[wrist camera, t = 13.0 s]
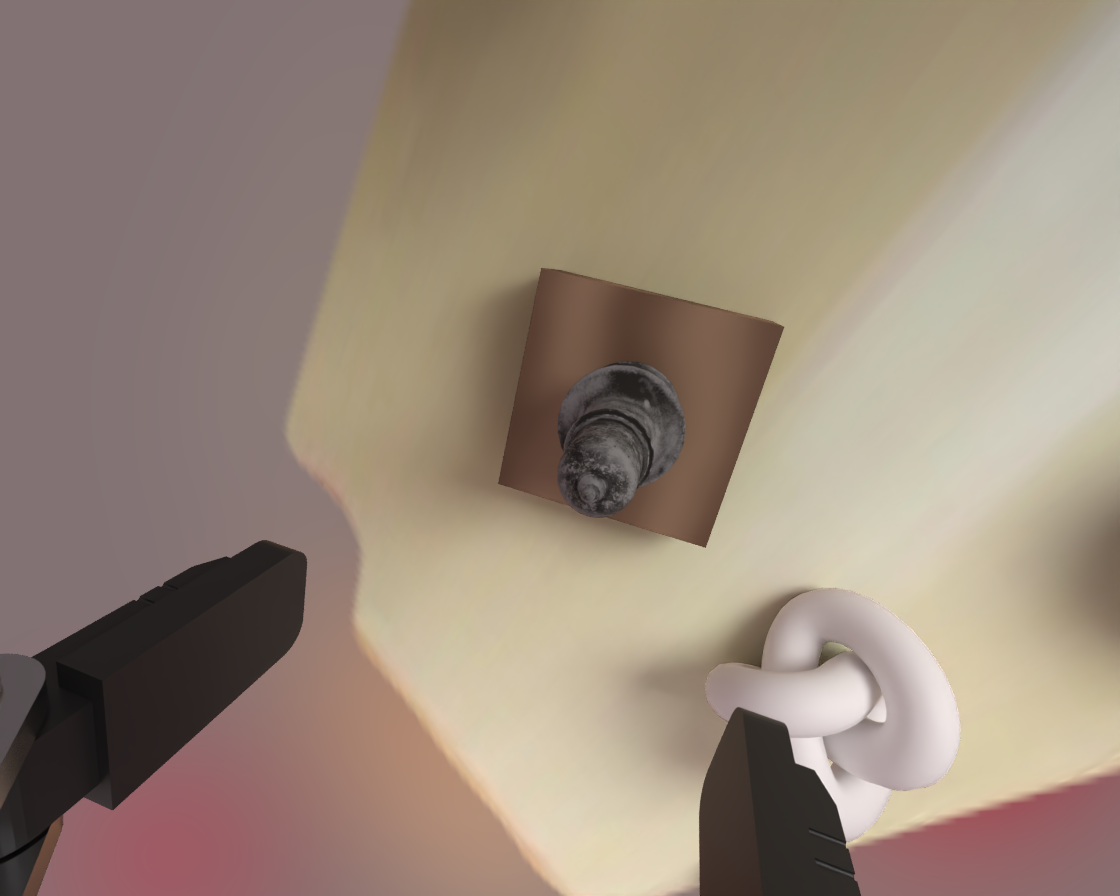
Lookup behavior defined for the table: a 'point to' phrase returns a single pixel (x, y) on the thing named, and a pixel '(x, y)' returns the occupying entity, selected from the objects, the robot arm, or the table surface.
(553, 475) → the walnut base
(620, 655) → the table surface
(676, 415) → the salt shaker
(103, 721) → the robot arm
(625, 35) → the table surface
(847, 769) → the white knot sculpture
